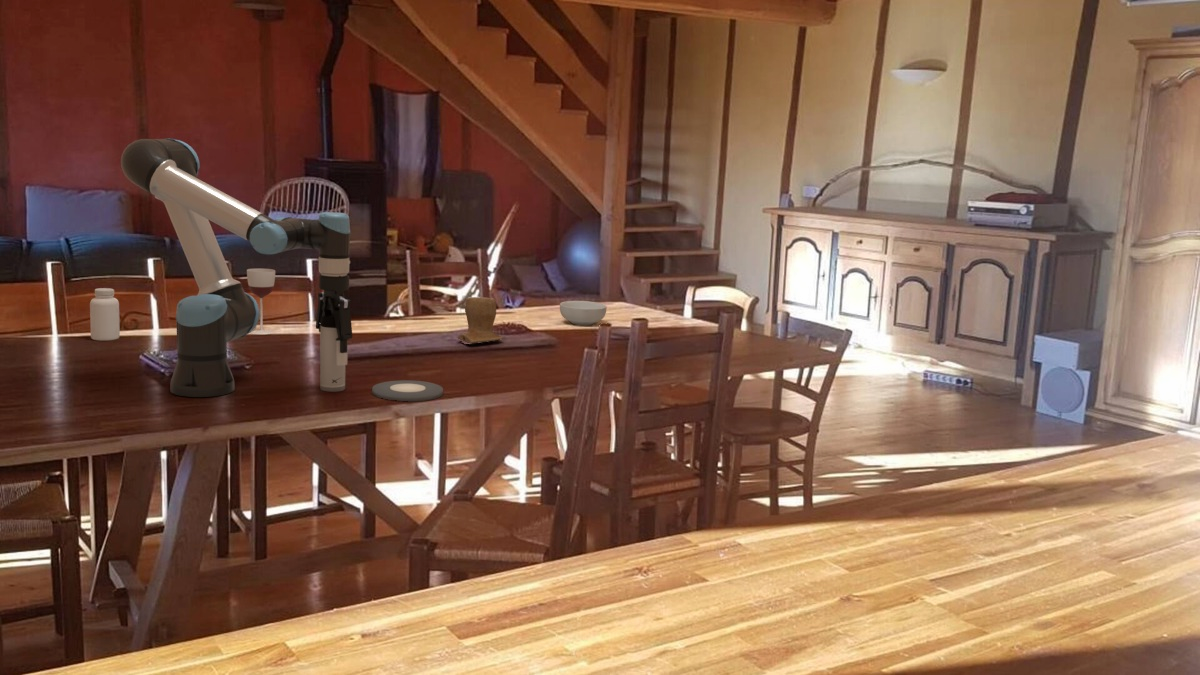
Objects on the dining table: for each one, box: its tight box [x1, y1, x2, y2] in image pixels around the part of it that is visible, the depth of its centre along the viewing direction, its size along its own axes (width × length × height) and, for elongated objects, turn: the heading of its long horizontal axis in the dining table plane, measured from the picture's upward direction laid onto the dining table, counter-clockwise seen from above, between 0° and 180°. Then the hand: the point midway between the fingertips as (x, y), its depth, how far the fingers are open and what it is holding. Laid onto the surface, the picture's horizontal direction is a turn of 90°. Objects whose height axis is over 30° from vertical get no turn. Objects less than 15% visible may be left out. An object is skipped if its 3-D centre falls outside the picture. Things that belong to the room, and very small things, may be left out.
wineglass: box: [246, 268, 276, 335], centre depth 347 cm, size 8×9×20 cm
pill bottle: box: [89, 287, 121, 342], centre depth 326 cm, size 8×8×15 cm
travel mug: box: [319, 315, 346, 393], centre depth 280 cm, size 6×7×20 cm
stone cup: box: [457, 296, 504, 343], centre depth 351 cm, size 15×12×15 cm
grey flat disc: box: [371, 379, 444, 403], centre depth 282 cm, size 18×18×1 cm
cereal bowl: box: [559, 300, 607, 326], centre depth 396 cm, size 17×17×7 cm
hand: (333, 361), depth 280 cm, fingers open, 9 cm apart
